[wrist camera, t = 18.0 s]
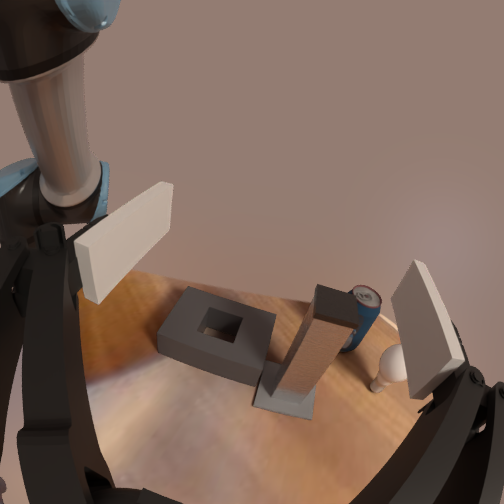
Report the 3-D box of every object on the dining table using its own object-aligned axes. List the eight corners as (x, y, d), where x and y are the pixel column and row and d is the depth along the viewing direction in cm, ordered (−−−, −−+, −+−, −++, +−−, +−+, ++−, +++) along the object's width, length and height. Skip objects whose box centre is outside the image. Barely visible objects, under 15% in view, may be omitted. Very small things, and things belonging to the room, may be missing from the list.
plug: (269, 398, 37) (315, 312, 27) (275, 373, 41) (317, 284, 32) (301, 406, 37) (359, 324, 27) (304, 380, 41) (356, 295, 31)
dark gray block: (158, 352, 40) (156, 332, 38) (186, 306, 50) (188, 285, 48) (254, 386, 39) (262, 370, 36) (269, 333, 49) (276, 314, 46)
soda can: (350, 328, 54) (376, 284, 48) (360, 354, 48) (390, 310, 42) (320, 327, 53) (344, 280, 47) (328, 354, 47) (357, 308, 41)
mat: (253, 406, 36) (253, 405, 36) (265, 361, 44) (265, 359, 43) (310, 420, 35) (311, 419, 35) (316, 374, 43) (316, 373, 43)
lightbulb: (358, 372, 44) (389, 332, 39) (387, 377, 44) (419, 339, 38) (359, 400, 39) (394, 363, 33) (389, 405, 38) (427, 369, 33)
